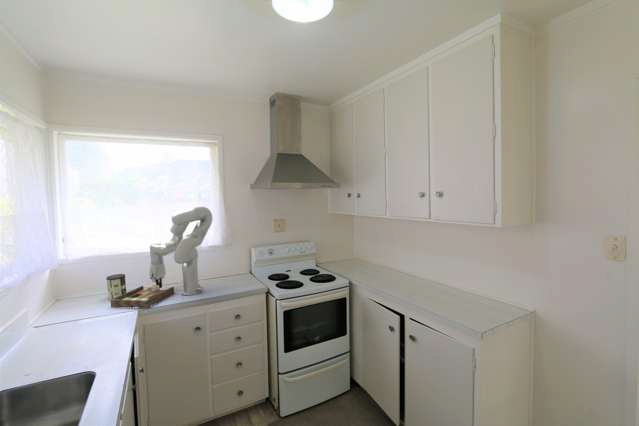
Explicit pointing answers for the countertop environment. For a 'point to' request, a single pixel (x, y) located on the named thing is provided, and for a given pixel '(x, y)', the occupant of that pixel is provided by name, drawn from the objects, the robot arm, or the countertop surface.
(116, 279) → the coffee can
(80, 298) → the countertop surface
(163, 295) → the wooden tray
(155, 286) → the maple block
